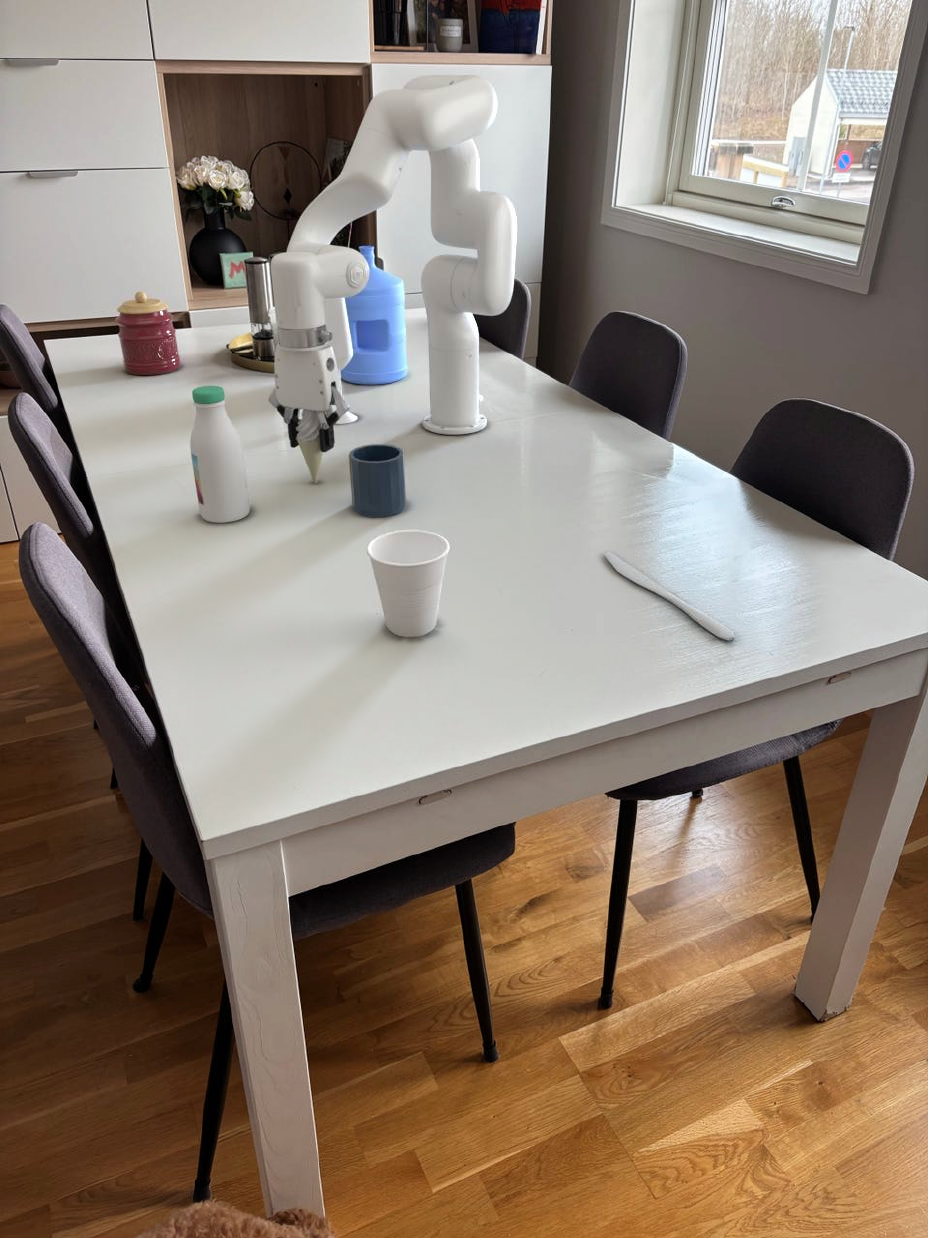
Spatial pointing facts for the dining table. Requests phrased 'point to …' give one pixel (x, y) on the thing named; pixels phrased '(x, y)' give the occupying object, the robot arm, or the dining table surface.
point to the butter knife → (670, 597)
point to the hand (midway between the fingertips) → (312, 446)
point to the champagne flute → (339, 339)
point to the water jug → (377, 328)
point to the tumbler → (377, 480)
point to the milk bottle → (217, 459)
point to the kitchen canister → (147, 336)
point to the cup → (409, 578)
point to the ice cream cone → (310, 441)
